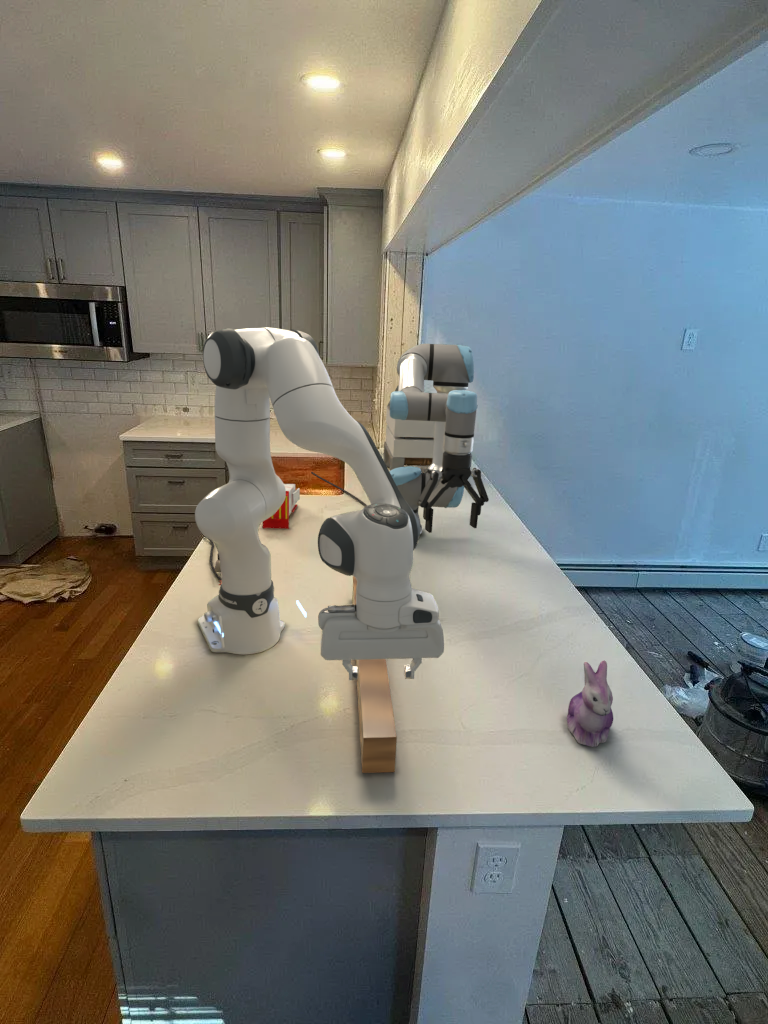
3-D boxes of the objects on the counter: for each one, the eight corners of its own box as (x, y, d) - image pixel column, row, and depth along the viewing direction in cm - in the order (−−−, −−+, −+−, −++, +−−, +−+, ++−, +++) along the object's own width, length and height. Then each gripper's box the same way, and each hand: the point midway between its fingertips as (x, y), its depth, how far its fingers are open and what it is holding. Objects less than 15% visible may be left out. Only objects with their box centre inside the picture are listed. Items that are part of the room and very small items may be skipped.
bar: (352, 600, 153) (352, 575, 150) (372, 600, 154) (373, 576, 151) (362, 773, 97) (363, 737, 94) (394, 772, 97) (396, 737, 95)
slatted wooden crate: (382, 463, 289) (386, 382, 275) (445, 464, 293) (451, 384, 279) (390, 482, 257) (394, 392, 243) (460, 483, 261) (468, 394, 247)
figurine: (591, 756, 102) (606, 687, 97) (551, 721, 111) (563, 655, 106) (628, 741, 107) (644, 673, 101) (587, 708, 115) (599, 644, 110)
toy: (301, 479, 224) (291, 492, 194) (301, 512, 226) (291, 530, 197) (270, 478, 223) (256, 491, 194) (271, 511, 226) (256, 529, 197)
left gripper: (317, 615, 87) (318, 691, 92) (449, 613, 89) (443, 687, 93) (318, 596, 93) (319, 668, 97) (442, 594, 95) (437, 665, 99)
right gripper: (419, 457, 139) (414, 538, 146) (507, 453, 147) (498, 529, 154) (407, 450, 145) (403, 528, 152) (492, 446, 154) (484, 520, 161)
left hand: (381, 677), depth 95 cm, fingers open, 8 cm apart
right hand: (451, 528), depth 153 cm, fingers open, 13 cm apart
